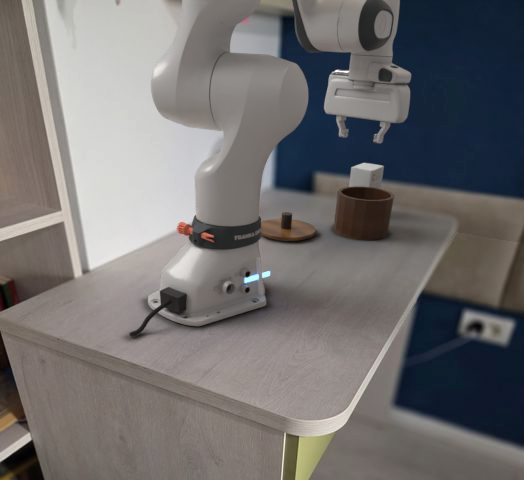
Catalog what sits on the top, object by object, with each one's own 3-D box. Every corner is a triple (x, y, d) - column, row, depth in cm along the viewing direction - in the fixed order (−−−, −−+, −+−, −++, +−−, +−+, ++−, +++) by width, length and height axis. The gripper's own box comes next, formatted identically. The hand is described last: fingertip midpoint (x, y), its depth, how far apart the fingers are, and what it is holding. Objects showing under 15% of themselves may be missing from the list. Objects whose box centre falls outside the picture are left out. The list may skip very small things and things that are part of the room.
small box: (357, 208, 145) (363, 162, 138) (377, 213, 142) (385, 165, 135) (344, 215, 139) (350, 166, 132) (365, 219, 136) (372, 170, 129)
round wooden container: (369, 244, 120) (375, 204, 115) (323, 230, 127) (327, 192, 122) (397, 231, 129) (404, 194, 123) (352, 219, 136) (357, 183, 131)
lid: (289, 247, 116) (291, 227, 113) (244, 232, 124) (244, 212, 121) (326, 233, 125) (328, 214, 122) (282, 220, 133) (283, 201, 130)
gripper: (322, 68, 111) (315, 134, 119) (404, 74, 100) (391, 147, 107) (338, 68, 116) (331, 133, 123) (418, 74, 104) (405, 145, 111)
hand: (360, 139), depth 115 cm, fingers open, 8 cm apart
